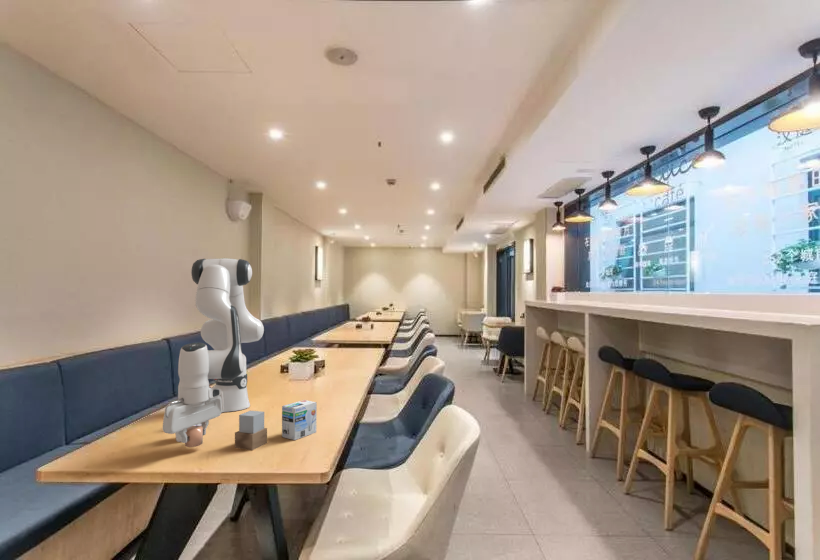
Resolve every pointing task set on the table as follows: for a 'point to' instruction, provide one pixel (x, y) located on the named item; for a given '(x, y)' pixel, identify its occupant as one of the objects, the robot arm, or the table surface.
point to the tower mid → (251, 422)
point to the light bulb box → (299, 419)
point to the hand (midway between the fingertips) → (193, 438)
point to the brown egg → (194, 436)
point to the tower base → (250, 439)
